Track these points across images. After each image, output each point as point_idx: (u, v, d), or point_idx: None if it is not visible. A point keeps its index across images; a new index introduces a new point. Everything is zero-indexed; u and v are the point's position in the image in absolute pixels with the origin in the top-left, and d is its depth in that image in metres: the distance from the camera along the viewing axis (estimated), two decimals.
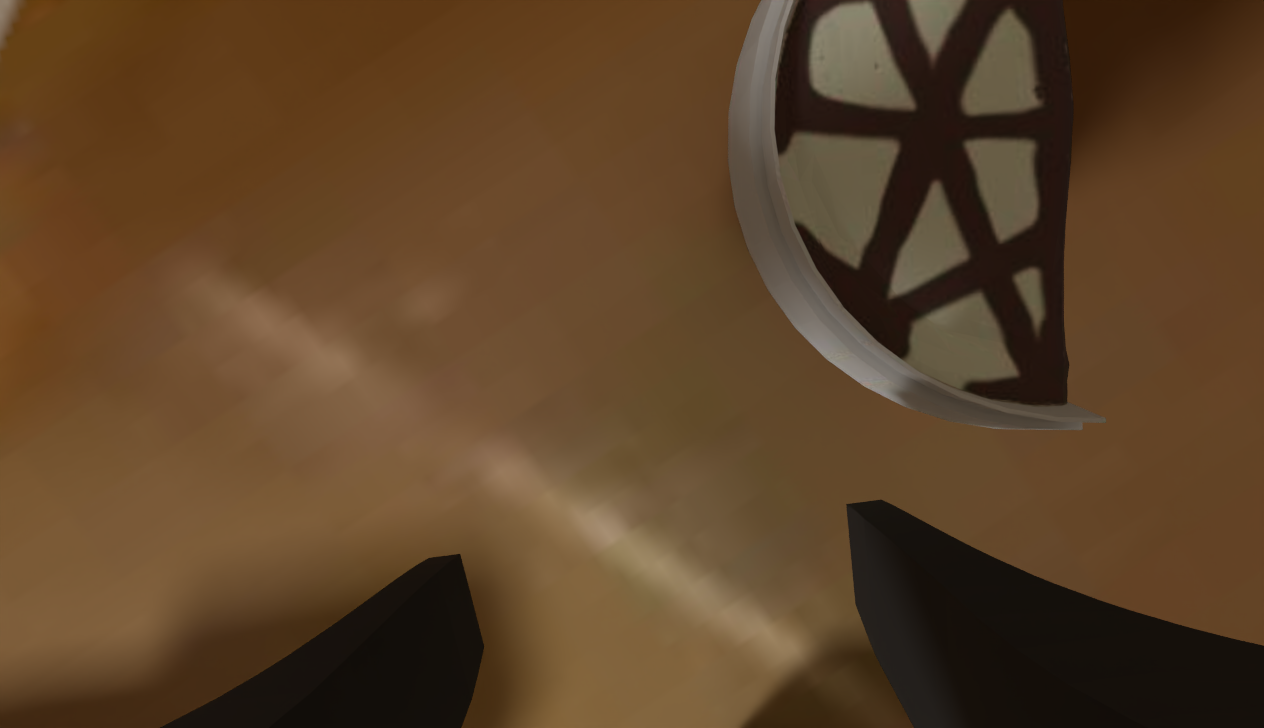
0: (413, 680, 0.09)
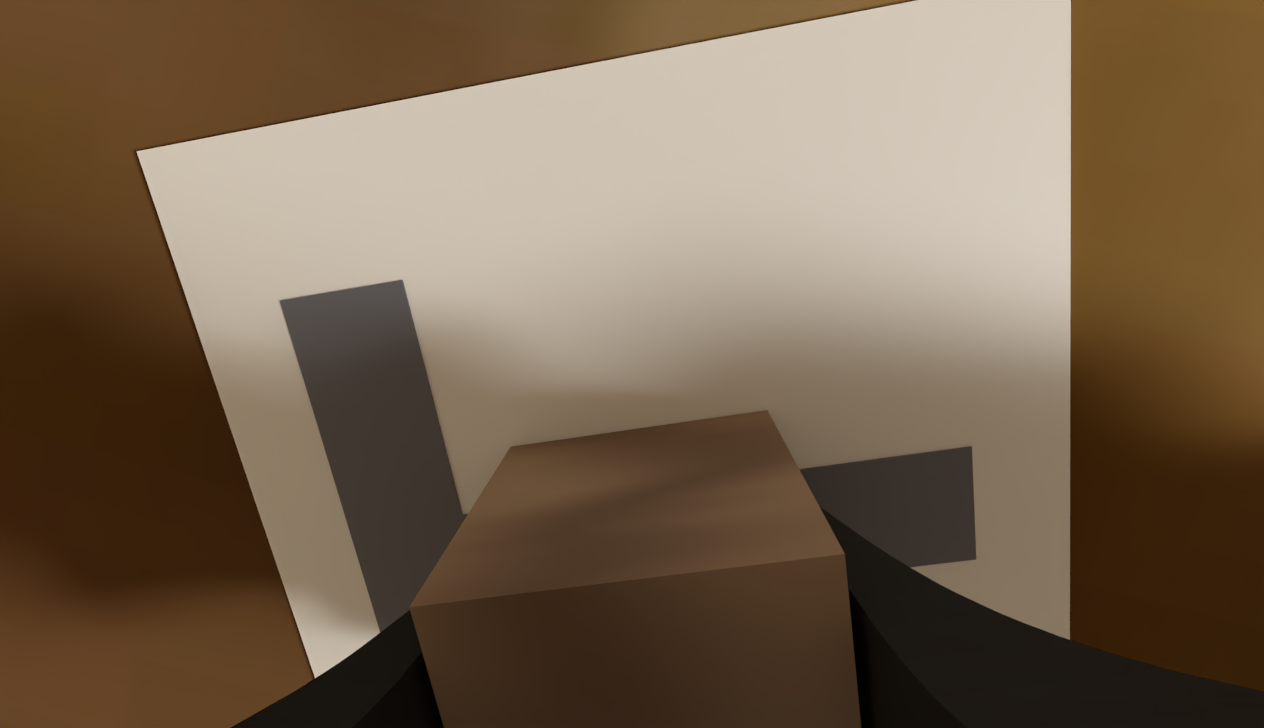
0: None
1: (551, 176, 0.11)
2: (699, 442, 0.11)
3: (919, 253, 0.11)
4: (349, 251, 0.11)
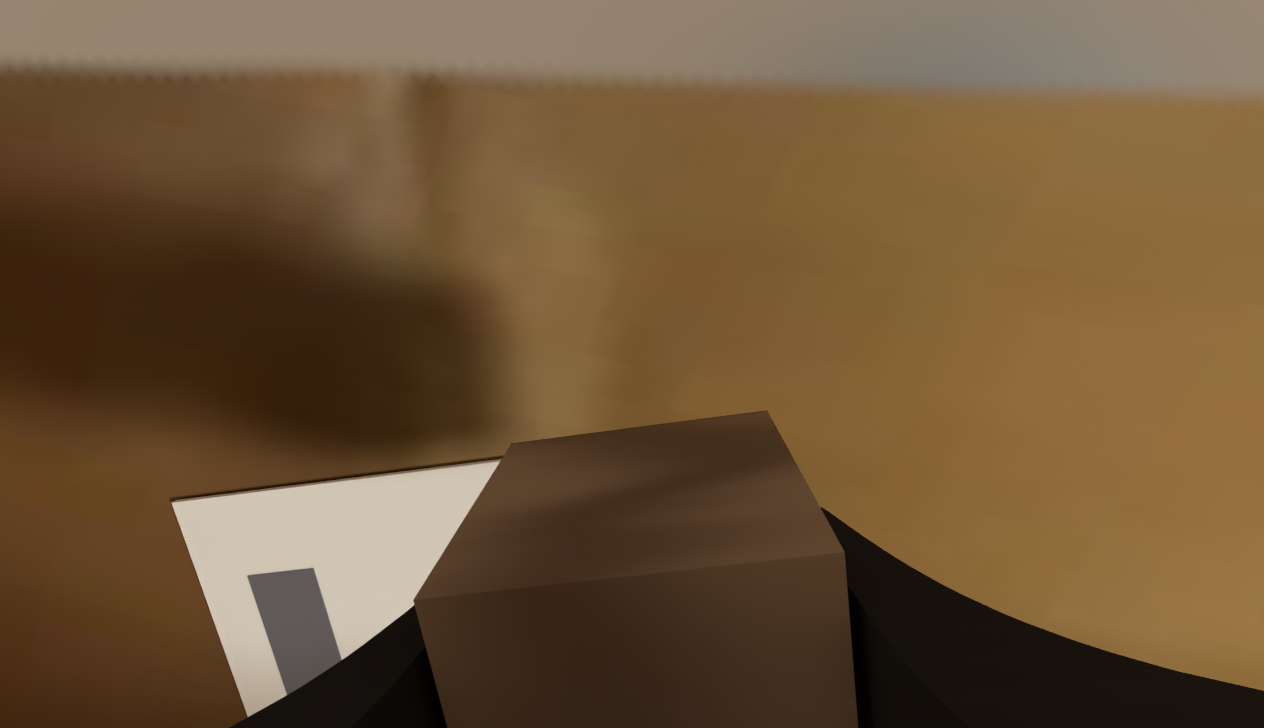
0: None
1: (390, 522, 0.20)
2: (699, 441, 0.11)
3: None
4: (284, 553, 0.21)
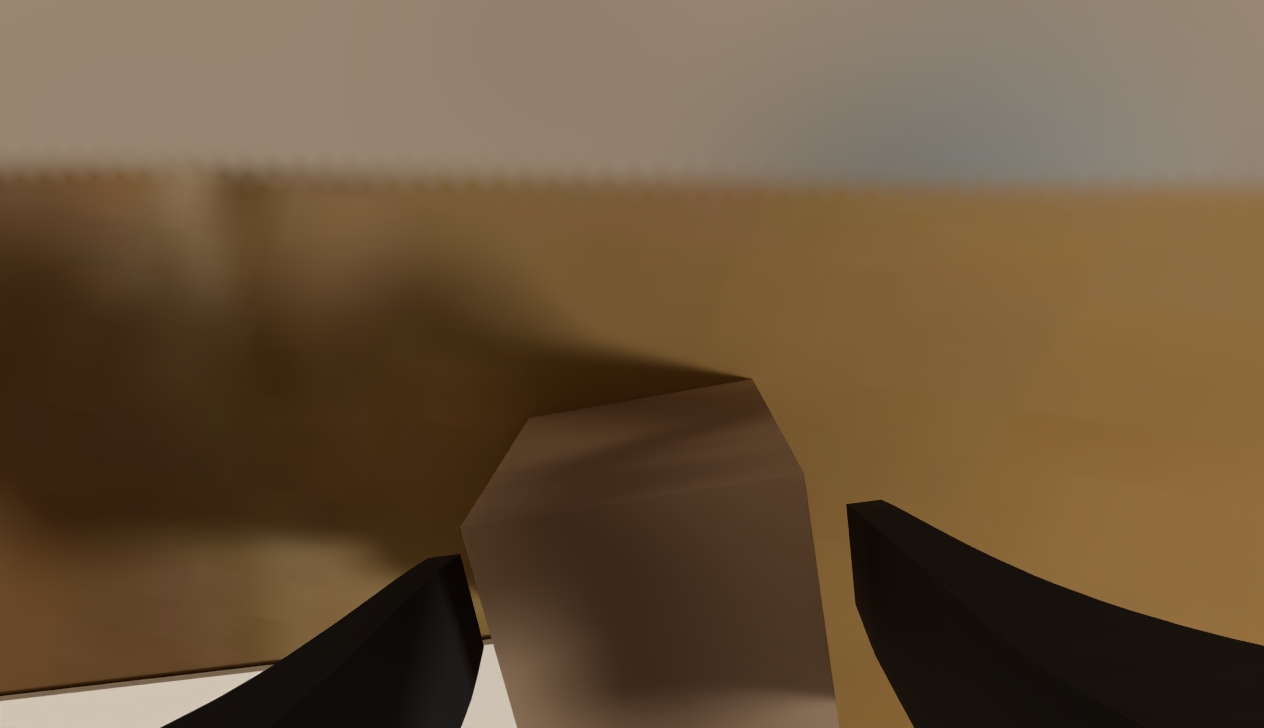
0: (413, 680, 0.09)
1: None
2: (692, 404, 0.12)
3: None
4: None
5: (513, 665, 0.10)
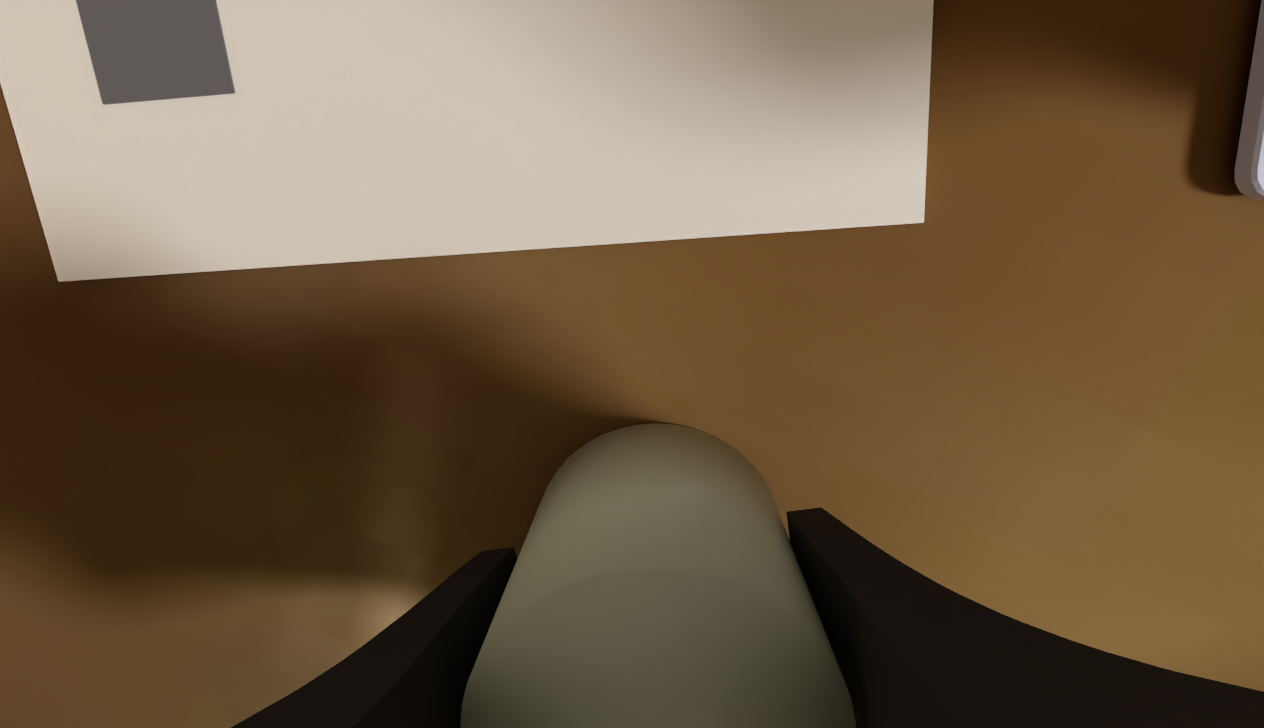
0: None
1: None
2: None
3: None
4: None
5: None
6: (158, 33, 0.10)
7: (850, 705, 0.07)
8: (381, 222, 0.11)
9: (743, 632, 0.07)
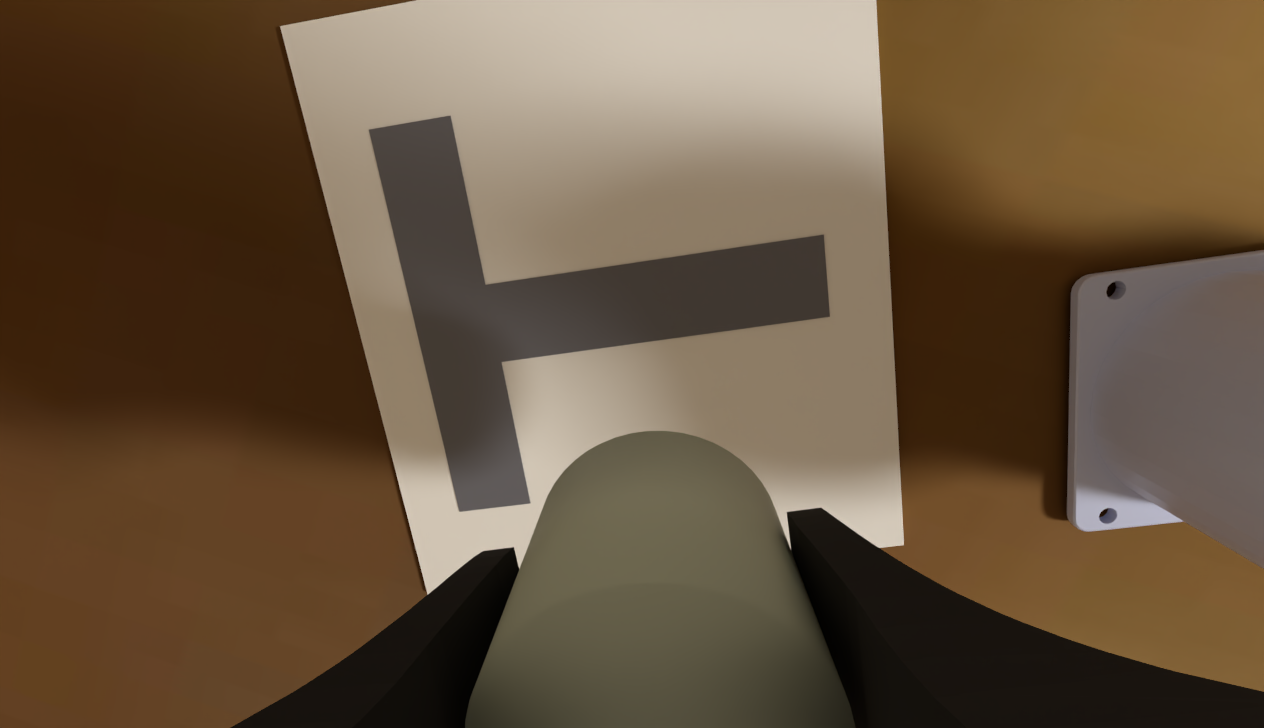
0: (479, 673, 0.09)
1: (548, 45, 0.17)
2: None
3: (785, 99, 0.17)
4: (416, 95, 0.17)
5: None
6: (491, 478, 0.20)
7: (848, 712, 0.08)
8: None
9: (740, 643, 0.07)
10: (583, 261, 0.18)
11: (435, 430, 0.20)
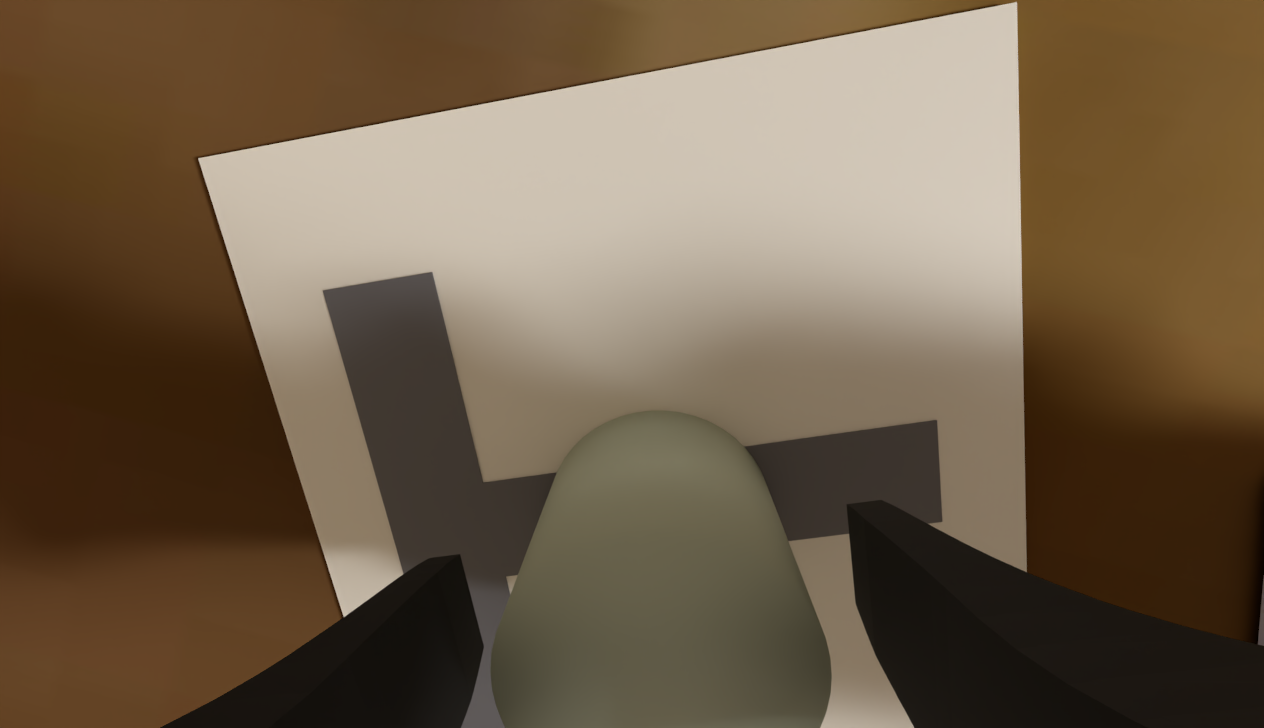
0: (413, 680, 0.09)
1: (564, 180, 0.12)
2: None
3: (888, 248, 0.12)
4: (385, 246, 0.13)
5: None
6: (494, 713, 0.15)
7: (825, 644, 0.09)
8: None
9: (730, 583, 0.09)
10: None
11: None
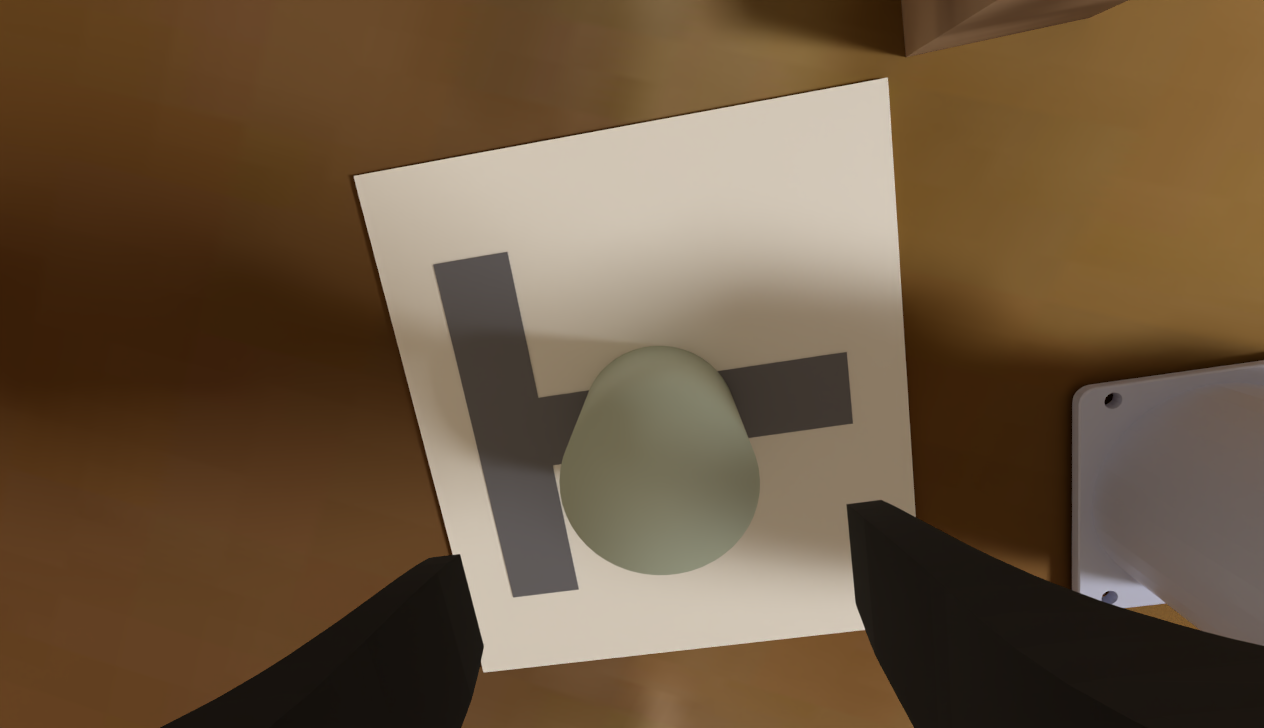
0: (413, 680, 0.09)
1: (596, 190, 0.18)
2: None
3: (811, 235, 0.19)
4: (476, 234, 0.19)
5: None
6: (542, 567, 0.22)
7: (754, 460, 0.15)
8: (650, 638, 0.22)
9: (700, 423, 0.15)
10: None
11: (491, 525, 0.21)
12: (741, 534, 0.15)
